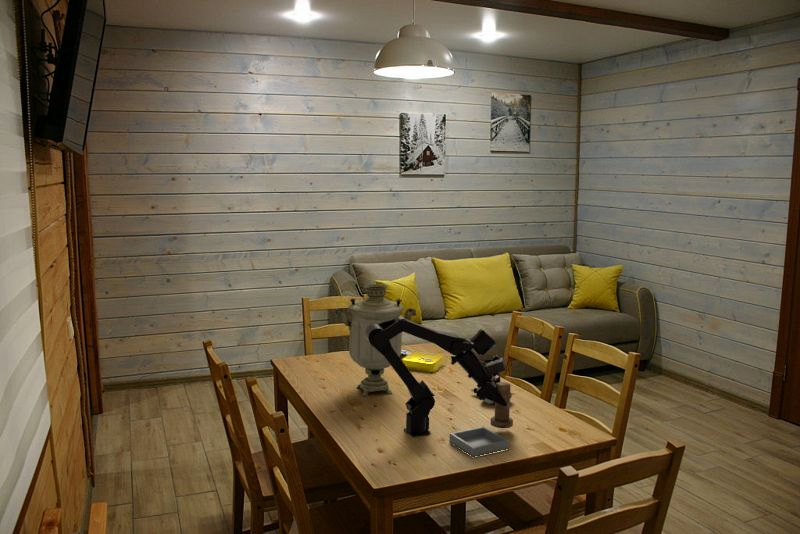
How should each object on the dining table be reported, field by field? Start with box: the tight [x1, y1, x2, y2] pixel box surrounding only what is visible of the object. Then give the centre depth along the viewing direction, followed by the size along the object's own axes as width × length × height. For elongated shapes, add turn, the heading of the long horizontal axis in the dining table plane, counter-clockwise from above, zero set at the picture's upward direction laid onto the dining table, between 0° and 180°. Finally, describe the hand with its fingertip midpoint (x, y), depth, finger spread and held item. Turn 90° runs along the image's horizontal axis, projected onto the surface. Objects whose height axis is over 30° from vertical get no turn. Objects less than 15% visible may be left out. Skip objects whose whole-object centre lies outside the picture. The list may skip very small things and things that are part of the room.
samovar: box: [335, 283, 417, 397], centre depth 251 cm, size 30×26×40 cm
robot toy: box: [470, 387, 516, 405], centre depth 243 cm, size 12×4×15 cm
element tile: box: [401, 351, 445, 373], centre depth 284 cm, size 15×15×5 cm
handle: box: [490, 381, 514, 429], centre depth 211 cm, size 7×7×13 cm
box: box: [449, 426, 510, 458], centre depth 200 cm, size 13×13×3 cm
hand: (506, 402), depth 210 cm, fingers closed on handle, 5 cm apart
